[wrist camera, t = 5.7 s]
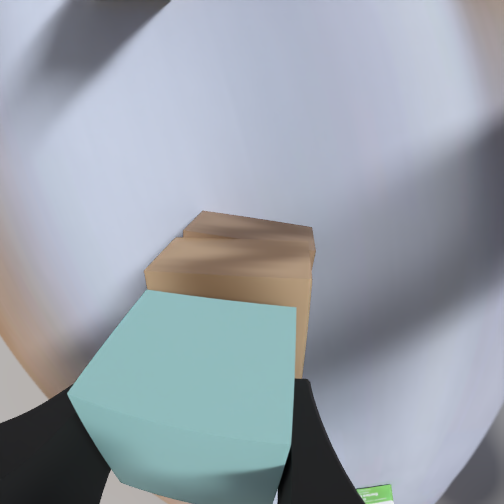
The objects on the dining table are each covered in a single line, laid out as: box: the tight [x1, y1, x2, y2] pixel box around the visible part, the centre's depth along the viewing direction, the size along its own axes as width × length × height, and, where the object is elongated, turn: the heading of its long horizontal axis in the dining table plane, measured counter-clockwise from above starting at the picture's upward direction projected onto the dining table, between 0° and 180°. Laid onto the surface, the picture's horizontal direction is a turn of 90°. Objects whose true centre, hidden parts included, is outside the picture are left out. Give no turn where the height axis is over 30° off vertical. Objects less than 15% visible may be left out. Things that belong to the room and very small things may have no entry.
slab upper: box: [144, 237, 312, 379], centre depth 13 cm, size 6×6×4 cm
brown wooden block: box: [183, 211, 316, 271], centre depth 17 cm, size 6×6×4 cm
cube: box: [67, 290, 296, 504], centre depth 9 cm, size 5×5×5 cm
